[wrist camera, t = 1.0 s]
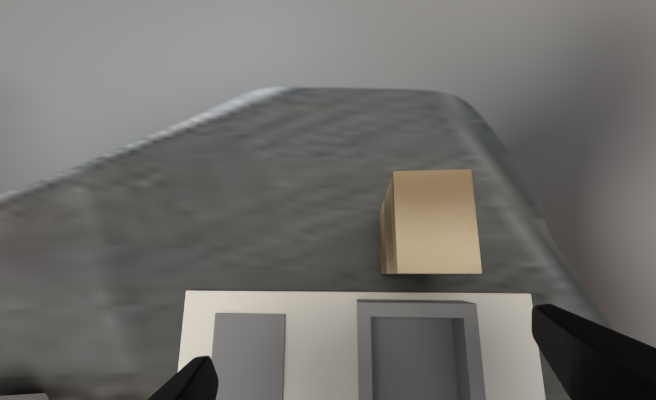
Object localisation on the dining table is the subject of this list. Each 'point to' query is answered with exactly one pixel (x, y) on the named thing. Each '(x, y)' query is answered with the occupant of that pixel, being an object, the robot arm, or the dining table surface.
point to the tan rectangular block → (429, 224)
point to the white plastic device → (26, 397)
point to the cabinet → (364, 345)
